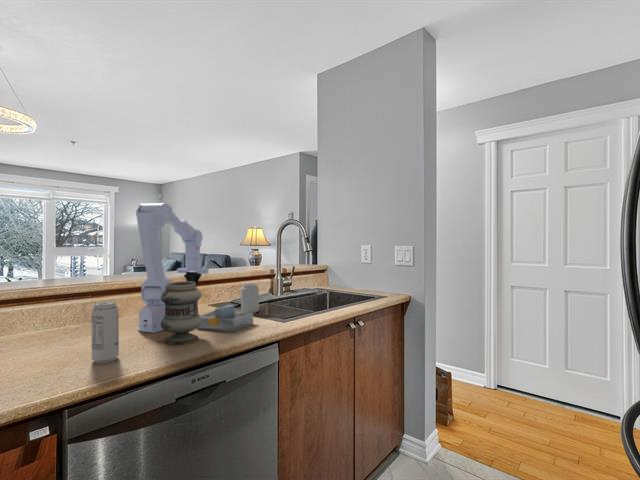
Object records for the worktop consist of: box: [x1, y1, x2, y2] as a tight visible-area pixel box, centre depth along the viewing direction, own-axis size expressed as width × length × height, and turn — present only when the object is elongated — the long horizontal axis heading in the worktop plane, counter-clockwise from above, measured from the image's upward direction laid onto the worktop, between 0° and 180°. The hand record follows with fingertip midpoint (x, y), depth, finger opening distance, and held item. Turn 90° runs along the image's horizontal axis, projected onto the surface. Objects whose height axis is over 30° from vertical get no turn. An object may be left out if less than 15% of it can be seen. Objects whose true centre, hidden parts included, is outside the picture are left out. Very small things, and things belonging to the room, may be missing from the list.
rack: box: [197, 310, 254, 333], centre depth 125 cm, size 13×16×4 cm
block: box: [214, 304, 236, 318], centre depth 125 cm, size 8×3×6 cm, turn 159°
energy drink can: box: [90, 301, 120, 365], centre depth 91 cm, size 6×6×15 cm
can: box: [240, 283, 260, 314], centre depth 148 cm, size 8×8×12 cm
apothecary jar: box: [161, 280, 202, 346], centre depth 108 cm, size 12×12×18 cm
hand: (192, 290), depth 144 cm, fingers closed
